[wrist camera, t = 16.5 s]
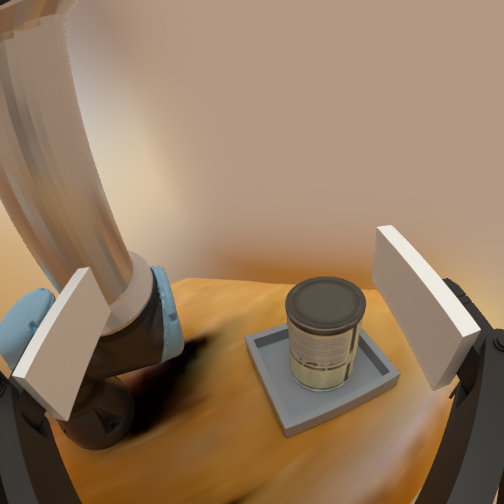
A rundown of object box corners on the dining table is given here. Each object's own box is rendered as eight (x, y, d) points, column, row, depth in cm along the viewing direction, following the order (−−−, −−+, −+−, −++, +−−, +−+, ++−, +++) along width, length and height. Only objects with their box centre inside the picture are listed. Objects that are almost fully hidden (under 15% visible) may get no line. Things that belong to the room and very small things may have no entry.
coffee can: (284, 348, 46) (279, 282, 39) (343, 337, 46) (350, 270, 39) (295, 398, 38) (293, 337, 30) (361, 384, 37) (378, 319, 30)
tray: (286, 437, 33) (285, 429, 31) (247, 349, 48) (244, 337, 47) (395, 385, 36) (400, 373, 35) (339, 316, 52) (340, 303, 50)
